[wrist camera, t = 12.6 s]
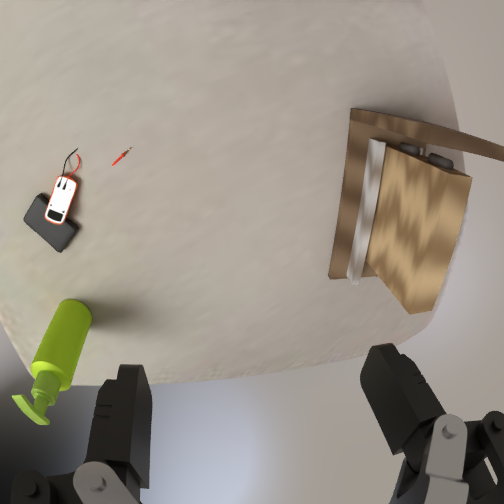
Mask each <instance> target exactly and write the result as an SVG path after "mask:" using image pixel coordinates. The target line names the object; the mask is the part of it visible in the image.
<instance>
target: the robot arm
mask: <svg viewBox="0 0 504 504" xmlns="http://www.w3.org/2000/svg"><path fill="white" fill-rule="evenodd" d="M360 382H361V386H362V389H363V391H364V393H365V395H366V397H367V399H368V402H369V404H370V406H371V408H372V410H373V412H374V414H375V416H376V419H377V420H378V423H379V425H380V427H381V430H382V432H383V434H384V436H385V438H386V440H387V443H388V445H389V447H390V449H391V452H392V454H393V455H395V454H398V453H402V452H404V454H405V456H406V457H405V458H404V460H403V463H402V466H401V470H400V473H399V476H398V480H397V483H396V486H395V489H394V492H393V496H392V498H391V501H390V503H389V504H504V414H503V413H501V412H499V411H491V412H489V413H488V414H487V415H486V416H485V417H484V418H483V419H482V420H479V421H468V422H463V420H462V419H460V418H459V417H457V416H455V415H452V414H447V413H446V412H445V411H444V409H443V408H442V406H441V404H440V402H439V401H438V399H437V398H436V396H435V394H434V393H433V391H432V389H431V388H430V386H429V385H428V383H426V380H425V378H424V377H423V375H421V372H420V371H419V369H418V367H417V366H416V364H415V363H414V362H413V361H412V360H411V359H410V358H408V357H407V356H406V355H405V354H401V355H400V353H399V352H398V350H397V349H396V347H395V346H394V345H393V344H392V343H387V344H381V345H376V346H372V347H371V348H370V350H369V353H368V356H367V359H366V361H365V363H364V366H363V368H362V371H361V374H360ZM151 421H152V395H151V390H150V387H149V384H148V381H147V377H146V374H145V371H144V367H143V365H129V364H121V365H120V366H119V370H118V375H117V380H111V379H107V380H106V381H105V382H104V384H103V385H102V387H101V388H100V390H99V391H98V396H97V400H96V407H95V410H94V418H93V420H92V426H91V431H90V437H89V443H88V449H87V456H86V459H85V461H84V463H83V464H82V465H81V466H80V467H79V468H78V469H77V470H76V471H74V472H72V473H69V474H63V475H56V476H47V477H45V476H44V475H42V474H41V473H40V472H38V471H35V470H24V471H22V472H20V473H19V474H18V475H17V476H16V477H15V479H14V481H13V487H12V494H11V502H10V504H142V503H141V501H140V488H147V489H149V469H150V467H149V466H150V440H151ZM486 457H488V459H489V461H490V463H491V465H492V467H493V470H494V472H495V474H496V476H497V479H498V482H497V485H496V484H495V483H494V481H493V478H492V476H491V474H490V472H489V470H488V468H487V466H486V464H485V461H484V459H485V458H486Z"/></svg>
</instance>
